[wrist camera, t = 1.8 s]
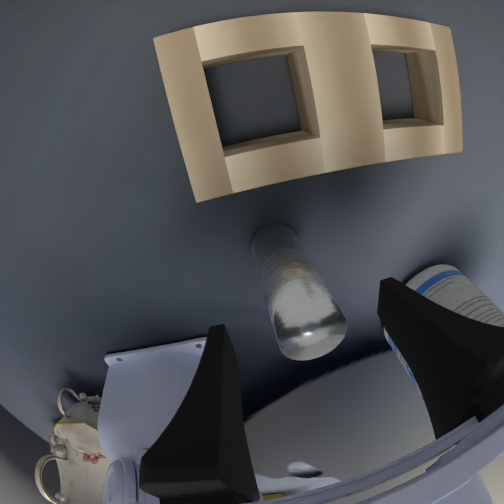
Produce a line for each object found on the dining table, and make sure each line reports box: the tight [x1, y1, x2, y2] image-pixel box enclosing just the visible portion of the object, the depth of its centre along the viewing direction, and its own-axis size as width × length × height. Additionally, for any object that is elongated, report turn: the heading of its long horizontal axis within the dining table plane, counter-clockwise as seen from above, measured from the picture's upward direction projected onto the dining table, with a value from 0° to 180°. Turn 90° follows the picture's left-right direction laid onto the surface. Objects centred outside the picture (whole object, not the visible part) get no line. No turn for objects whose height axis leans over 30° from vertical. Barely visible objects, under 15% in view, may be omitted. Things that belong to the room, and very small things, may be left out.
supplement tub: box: [384, 264, 504, 448], centre depth 18 cm, size 10×10×15 cm
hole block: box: [153, 12, 462, 203], centre depth 13 cm, size 16×8×3 cm, turn 102°
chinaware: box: [35, 388, 112, 504], centre depth 23 cm, size 28×17×17 cm, turn 11°
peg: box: [251, 224, 347, 360], centre depth 15 cm, size 3×3×8 cm
